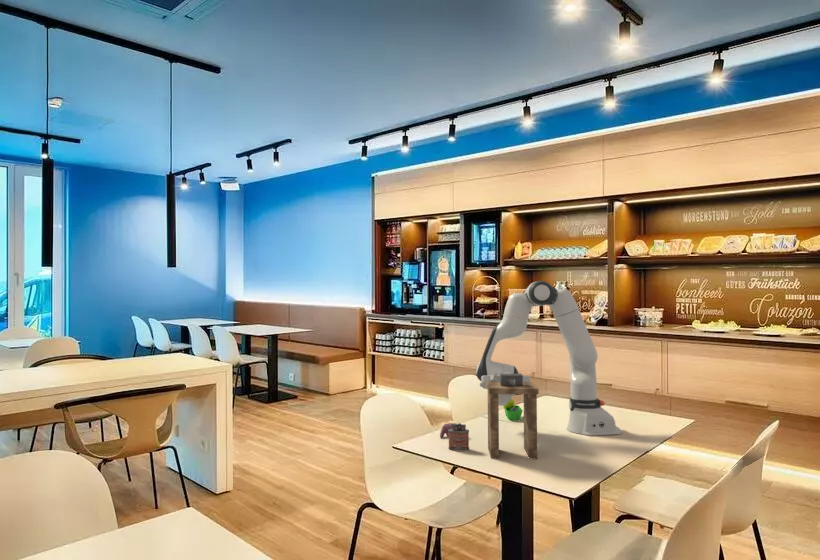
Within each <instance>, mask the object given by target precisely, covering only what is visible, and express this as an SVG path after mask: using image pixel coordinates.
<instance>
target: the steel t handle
mask: <svg viewBox="0 0 820 560" xmlns="http://www.w3.org/2000/svg"><path fill="white" fill-rule="evenodd" d="M523 376H524V375H523V374H522V373H521V374H511V373H510V372H503V374H500V385H501V386H523Z"/></svg>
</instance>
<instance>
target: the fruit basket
mask: <svg viewBox="0 0 820 560" xmlns="http://www.w3.org/2000/svg"><path fill="white" fill-rule="evenodd" d="M503 409H504V412H505V416H507V417H506V418H507V419H508V421H509V420H517V421H518V420H520V421H521V418H522V413H523V412H524V409H522V408H521V407H520V405H518V404H517V405H516V404H515V401H514V399H512V398H511V400H510V401H509V403H508V404H506V405H504V406H503Z"/></svg>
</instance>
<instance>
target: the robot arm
mask: <svg viewBox="0 0 820 560" xmlns="http://www.w3.org/2000/svg"><path fill="white" fill-rule="evenodd" d="M541 306H548V307H549V308H550V310H551V311H552V313H553V316H554V319H555V321H556V324H557V326H558V329H559V331H560V334H561V336H562V339H563V341H564V343H565V347H566V349H567V351H568V354H569V376H570V377H569V378H570V381H569V383H570V385H569V387H570V397H569V401H568V403H569V404H568V405H569V419H568V424H567V428H566V429H567V431H569V432H571V433H576V434H580V435H585V436H590V437H591V436H611V435H612V436H614V435H622V429H621V428H620V427H618V425H616V420H615V417H614V416H613V415H612V414H611V413H609V412H608V411H607V410H606V409H604V408H603V406H605V401H604V400H602V399H600V398H598V396H597V394H598V393H597V392H598V391H597V390H598V389H597V369H596V363H597V362H598V361H597V360H598V356H599V355H598V352H597V349H596V346H595V344H594V341H593V339H592V337H591V335H590V332H589V331H588V328H587V326H586V323H585V320H584V318H583V315H582V313H581V311H580V308H579V306H578V304H577V301H576V300H575V298H574V296H573V294H572V293H571V291H569V290H568V289H567V288H559V289H556V288H555V287H553V286H552V285H551V284H550V283H549V282H547V281H545V280H537V281H534V282H532V283H530V284H529V285H528V286H527V287H526V289H525V290H524V291H523V292H522V293H521V292H515V293H512V294H510V295H509V296H508V299H507V301H506V304H505V307H504V312H503V317H502V319H501V321H500V323H499V324H497V325H495V326H494V327H493V328H492V330H491V333H490V336H489V338H488V341H487V343H486V345H485V349H484V351H483V352H482V356H481V359H480V361H479V363H478V364H477V366H476V371H475V373H476V374H475V376H476V378H477V379H478V380H479V381H480V383H479V387H482V388H483V389H484V390H487V388H486V382H500V374H503V372H510V373H511V374H522V373H519V371H518V369H517V367H516V366H515V365H512V364H508V363H503V362H499V361H498V362H497V361H494V360H492V357H493V354H494V351H495V348H496V346H497V343H499V342H500V341H503V340H505V339H511V338H512V339H513V338H516V337H519V336H521V335H523V334H524V333H525V331H526V329H527V327H528V322H529V316H530V312H531V310H532V309H533V307H541ZM523 382H532V381H531V376H530V375H523ZM519 395H520V396H521V395H522V394H498V397H499V407H504V405H506V404H508V403H509V401H510V400H511V399H512V397H515V396H519Z"/></svg>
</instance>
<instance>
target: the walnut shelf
mask: <svg viewBox="0 0 820 560" xmlns="http://www.w3.org/2000/svg"><path fill="white" fill-rule="evenodd" d="M486 388H487V389H486V390H487V448H488V449H487V450H488V454H489V457H490V459H500V433H499V432H500V426H499V425H500V424H499V422H500V421H499V420H500V418H499V417H500V415H499V414H500V413H499V412H500V411H499V410H500V409H499V407H500V406H499V397H498V394H521V395H523V450H524V449H525V450H524V451H526V452H525V454H526V453H527V454H526V455H528V456H527V457H529V458H536V459H535V460H537V459H538V422H537V421H538V404H537V403H538V402H537V401H538V400H537V399H538V398H537V397H538V396H537V395H539V387H537V386H536V385H535V383H533V381H531V382H523V386H501V385H500V382H486ZM529 458H528V459H529Z"/></svg>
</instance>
